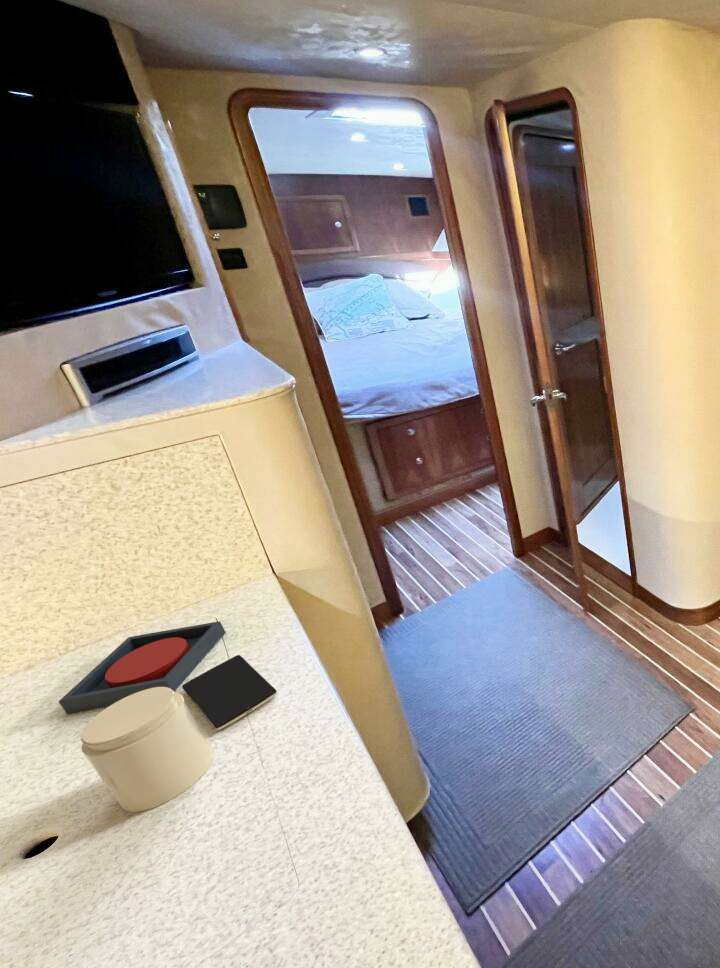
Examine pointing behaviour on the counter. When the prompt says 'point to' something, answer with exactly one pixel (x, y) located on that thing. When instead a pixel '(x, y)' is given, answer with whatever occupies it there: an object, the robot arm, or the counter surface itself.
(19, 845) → the counter surface
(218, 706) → the smartphone
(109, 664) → the tray
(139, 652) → the lid
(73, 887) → the counter surface
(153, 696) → the jar
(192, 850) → the counter surface
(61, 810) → the counter surface
